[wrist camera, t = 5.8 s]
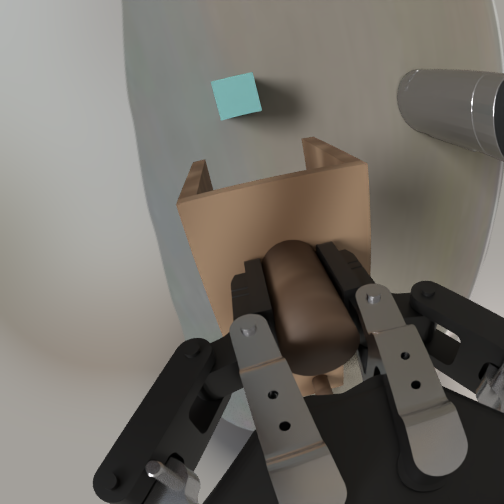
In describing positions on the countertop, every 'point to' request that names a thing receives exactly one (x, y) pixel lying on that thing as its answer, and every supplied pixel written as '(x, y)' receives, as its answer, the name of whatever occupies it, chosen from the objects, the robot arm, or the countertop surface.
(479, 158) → the countertop surface
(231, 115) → the block
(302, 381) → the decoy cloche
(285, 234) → the brown forked piece
